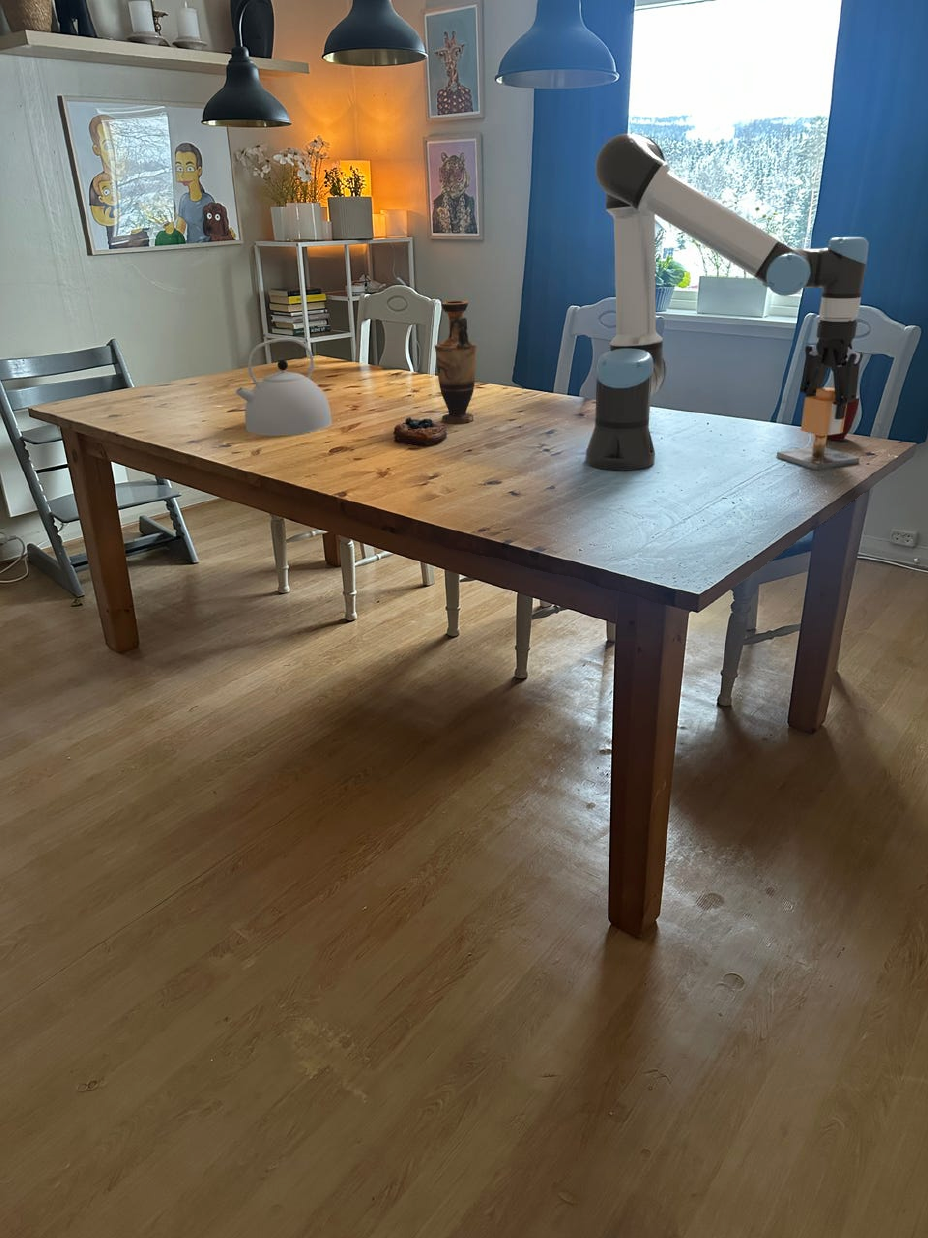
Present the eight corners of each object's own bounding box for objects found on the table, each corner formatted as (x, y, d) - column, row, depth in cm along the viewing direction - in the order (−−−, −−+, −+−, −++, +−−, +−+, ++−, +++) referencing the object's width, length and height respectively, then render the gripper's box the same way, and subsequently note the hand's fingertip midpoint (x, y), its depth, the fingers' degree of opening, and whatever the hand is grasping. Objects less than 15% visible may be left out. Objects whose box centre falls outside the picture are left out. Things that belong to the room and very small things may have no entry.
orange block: (821, 436, 190) (827, 393, 186) (800, 430, 195) (806, 388, 191) (842, 432, 192) (849, 390, 188) (821, 426, 197) (827, 385, 193)
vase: (431, 418, 242) (427, 301, 229) (469, 414, 245) (466, 298, 232) (445, 426, 233) (441, 305, 220) (484, 422, 236) (482, 302, 223)
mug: (832, 446, 206) (839, 402, 202) (802, 439, 212) (808, 397, 208) (859, 438, 212) (866, 396, 207) (829, 432, 218) (835, 391, 213)
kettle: (257, 442, 223) (245, 349, 213) (225, 425, 240) (213, 338, 231) (346, 427, 235) (339, 338, 226) (310, 412, 253) (302, 329, 243)
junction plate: (816, 470, 189) (820, 439, 186) (776, 457, 199) (780, 427, 196) (858, 463, 193) (863, 432, 191) (817, 450, 203) (822, 421, 200)
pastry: (413, 433, 228) (412, 410, 225) (453, 438, 222) (452, 415, 220) (388, 443, 219) (387, 419, 217) (429, 449, 214) (428, 424, 211)
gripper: (888, 321, 177) (869, 437, 187) (817, 312, 193) (803, 419, 203) (860, 325, 174) (842, 442, 184) (790, 315, 190) (777, 423, 200)
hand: (821, 430), depth 193 cm, fingers closed on orange block, 6 cm apart
